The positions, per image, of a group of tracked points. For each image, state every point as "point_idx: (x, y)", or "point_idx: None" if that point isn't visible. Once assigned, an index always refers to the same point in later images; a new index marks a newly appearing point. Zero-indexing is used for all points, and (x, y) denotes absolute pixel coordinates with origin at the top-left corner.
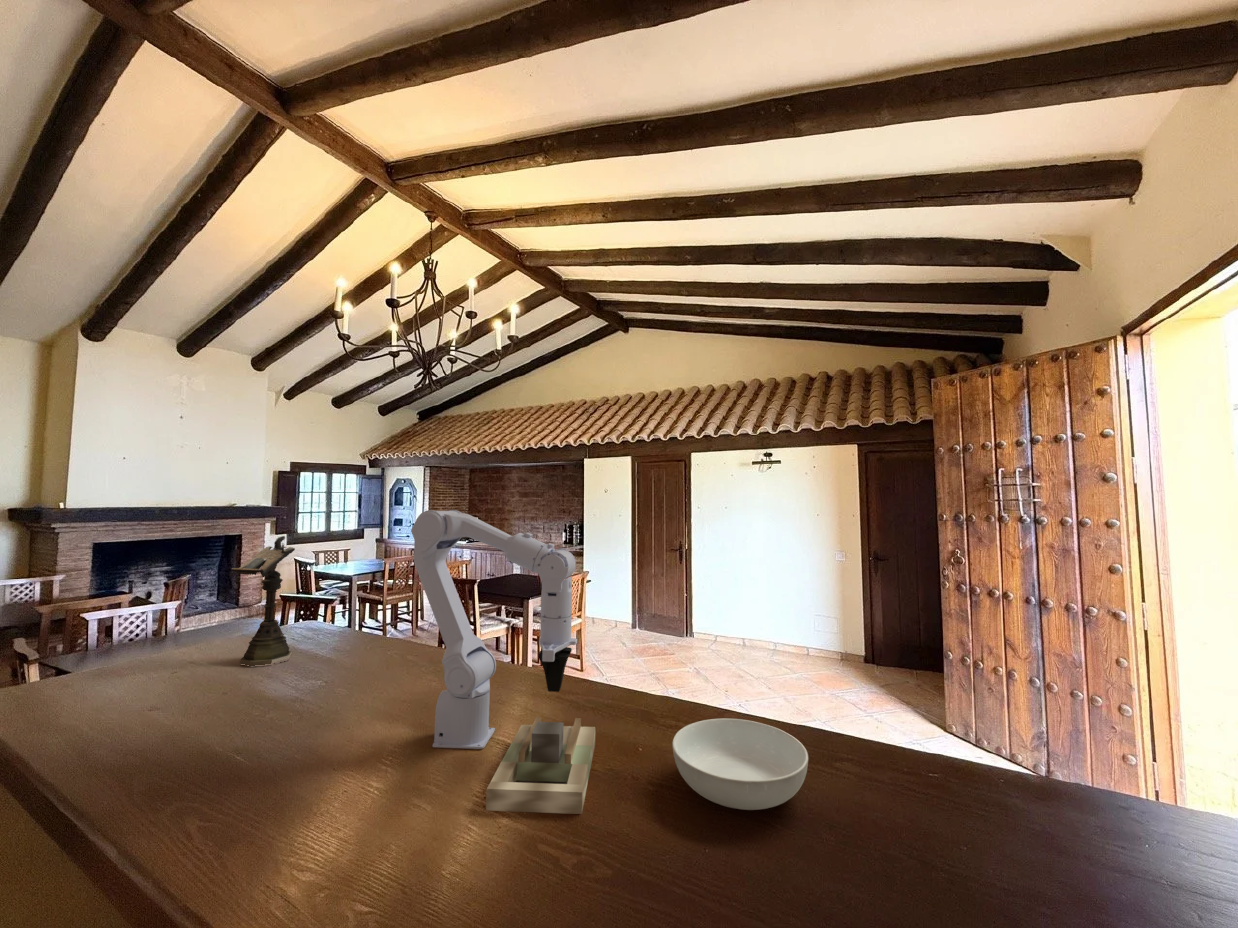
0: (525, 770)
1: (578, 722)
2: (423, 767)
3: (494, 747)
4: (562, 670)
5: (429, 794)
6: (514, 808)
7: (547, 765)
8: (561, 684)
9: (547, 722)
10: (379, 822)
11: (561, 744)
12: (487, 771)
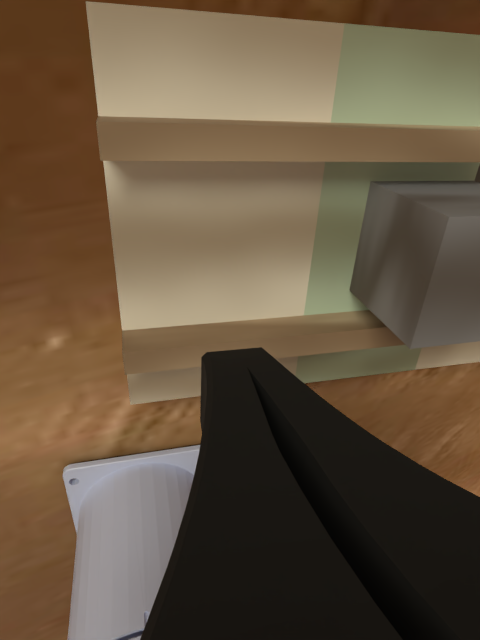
0: None
1: (167, 132)
2: None
3: (186, 420)
4: (419, 468)
5: (409, 449)
6: None
7: None
8: (235, 367)
9: (429, 301)
10: (476, 472)
11: (443, 192)
12: (329, 385)
